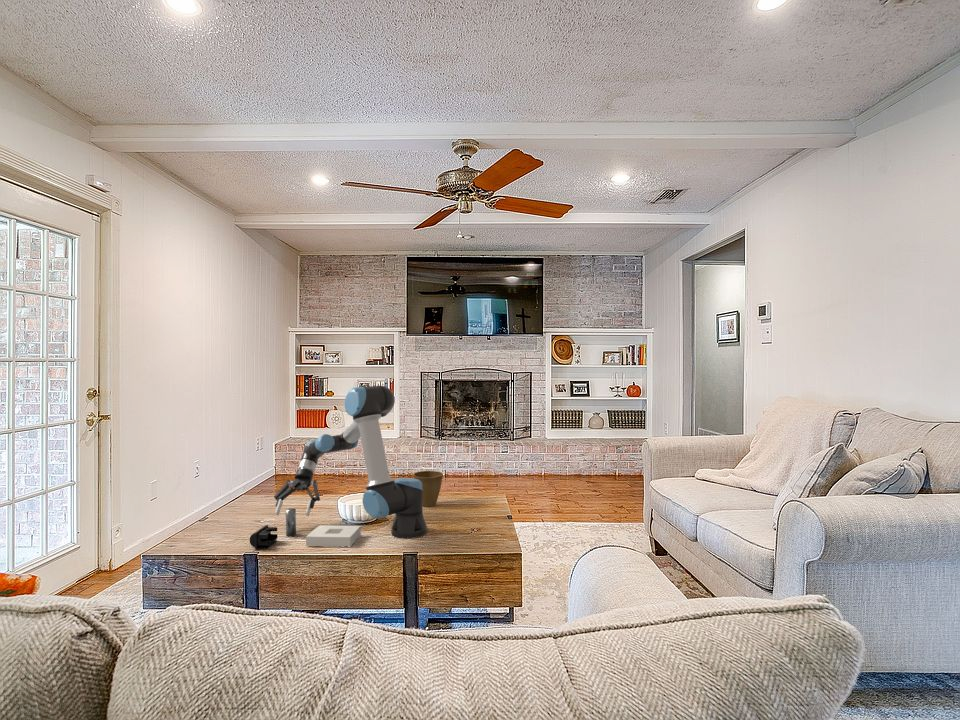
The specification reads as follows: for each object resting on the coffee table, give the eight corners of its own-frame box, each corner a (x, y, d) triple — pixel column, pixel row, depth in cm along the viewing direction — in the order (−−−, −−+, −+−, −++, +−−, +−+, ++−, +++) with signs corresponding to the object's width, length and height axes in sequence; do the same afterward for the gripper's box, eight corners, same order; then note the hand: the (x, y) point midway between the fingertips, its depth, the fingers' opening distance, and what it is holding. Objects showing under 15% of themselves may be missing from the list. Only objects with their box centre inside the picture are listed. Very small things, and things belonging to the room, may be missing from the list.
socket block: (360, 535, 226) (360, 525, 226) (350, 547, 212) (350, 537, 212) (319, 534, 227) (319, 525, 227) (306, 546, 213) (306, 536, 213)
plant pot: (410, 508, 264) (409, 476, 264) (418, 500, 279) (417, 470, 278) (439, 510, 261) (438, 477, 261) (446, 501, 276) (445, 470, 276)
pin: (297, 533, 229) (297, 508, 229) (293, 536, 225) (293, 510, 225) (288, 533, 229) (288, 508, 229) (284, 536, 225) (284, 510, 225)
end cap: (261, 540, 221) (261, 524, 221) (278, 541, 220) (277, 524, 220) (249, 549, 211) (249, 532, 211) (266, 550, 210) (266, 532, 210)
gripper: (334, 476, 246) (322, 519, 232) (282, 476, 248) (267, 518, 234) (329, 467, 241) (317, 510, 226) (276, 467, 243) (260, 509, 228)
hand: (291, 514), depth 230 cm, fingers open, 13 cm apart
